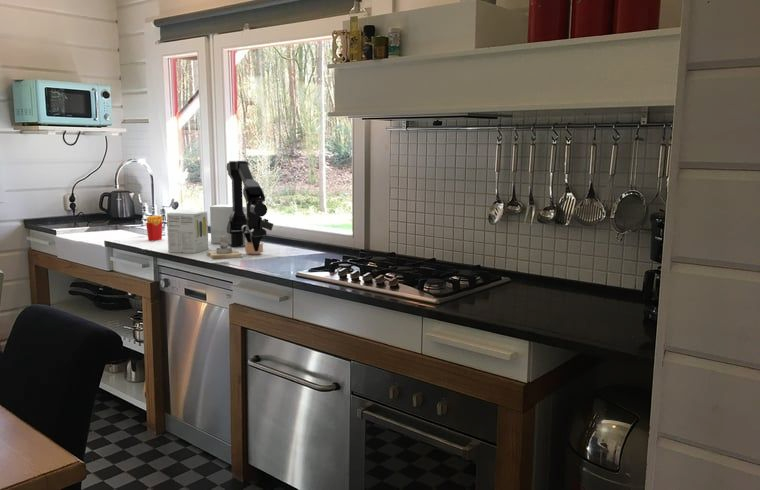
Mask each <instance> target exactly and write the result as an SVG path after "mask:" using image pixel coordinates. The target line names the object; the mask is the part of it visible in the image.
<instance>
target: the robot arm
mask: <svg viewBox="0 0 760 490" xmlns="http://www.w3.org/2000/svg"><path fill="white" fill-rule="evenodd" d="M226 171H227V175H228V176H229V178H230V180H231V192H232V193H231V196H232V197H231V199H232V201H231V202H232V203H231V205H233V212H232V213H231V215H230V217H229V222H228V225H227V233H229V234H231V244H228V246H229V247H232V248H237V247H245V244H244V240H243V234H244V236H245V238H246V240H247V242H252V244H253V247H254V249H255V251H258V248H259V244H260V242H261V241H262V239H263V238H265V236H267V230H269V231H270V232H271V231H272V230H273V226H274V223H271V222H270V221H269V219H266V218H263V217H265V215H266V214H267V212H268V206H267V205H266V204H265V203H264V202H265V201H266V200H265V199H266V196H265V192H264V190H263V188H262V187H261V185H260V183H259V182H258V181H256V180H255V179H254V176H253V173H252V171H251V170H250V167H249V162H248V160H229V162H227V163H226ZM243 198H244V199H245V203H246V204H245V205H246V209H247V216H246V215H245V214H244V213H243V205H244V204H243ZM231 230H232V231H231ZM234 230H242V231H234Z"/></svg>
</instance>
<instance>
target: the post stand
mask: <svg viewBox="0 0 760 490" xmlns="http://www.w3.org/2000/svg"><path fill="white" fill-rule="evenodd" d="M206 256H208V257H209V258H211V259H212V258H213V259H212V260H220V259H222V258H224V259H234V257H238V258H242V257H243V254H242V252H240V251H238V250H236V249H233V247H231V246H228V244H227V236H221V243H220V246H218V247H216V250H208V251H206ZM222 260H223V259H222Z"/></svg>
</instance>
